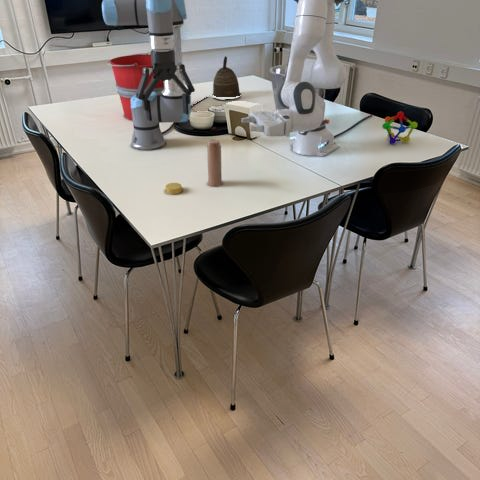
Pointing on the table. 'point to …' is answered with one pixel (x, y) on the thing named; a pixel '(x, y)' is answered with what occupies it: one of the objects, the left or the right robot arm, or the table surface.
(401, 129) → the educational toy
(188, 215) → the table surface
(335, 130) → the table surface
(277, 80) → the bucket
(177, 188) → the lid
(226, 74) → the bell
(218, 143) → the jar
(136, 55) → the bucket
